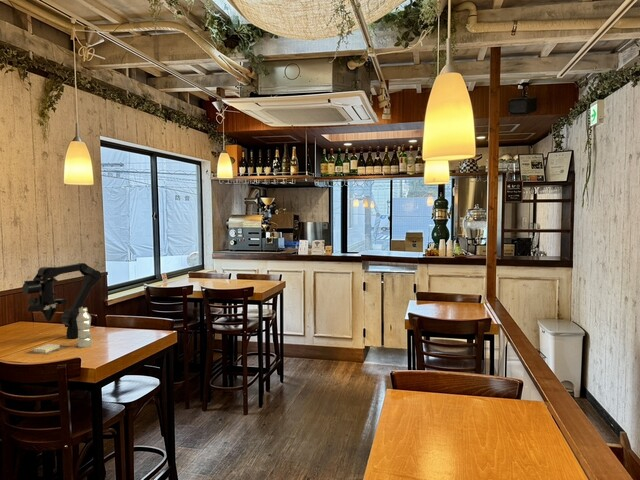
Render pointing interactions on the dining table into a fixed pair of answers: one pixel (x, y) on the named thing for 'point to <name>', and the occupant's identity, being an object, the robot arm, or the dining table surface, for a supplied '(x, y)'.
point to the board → (49, 351)
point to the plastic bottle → (84, 328)
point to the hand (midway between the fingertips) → (48, 321)
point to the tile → (46, 348)
